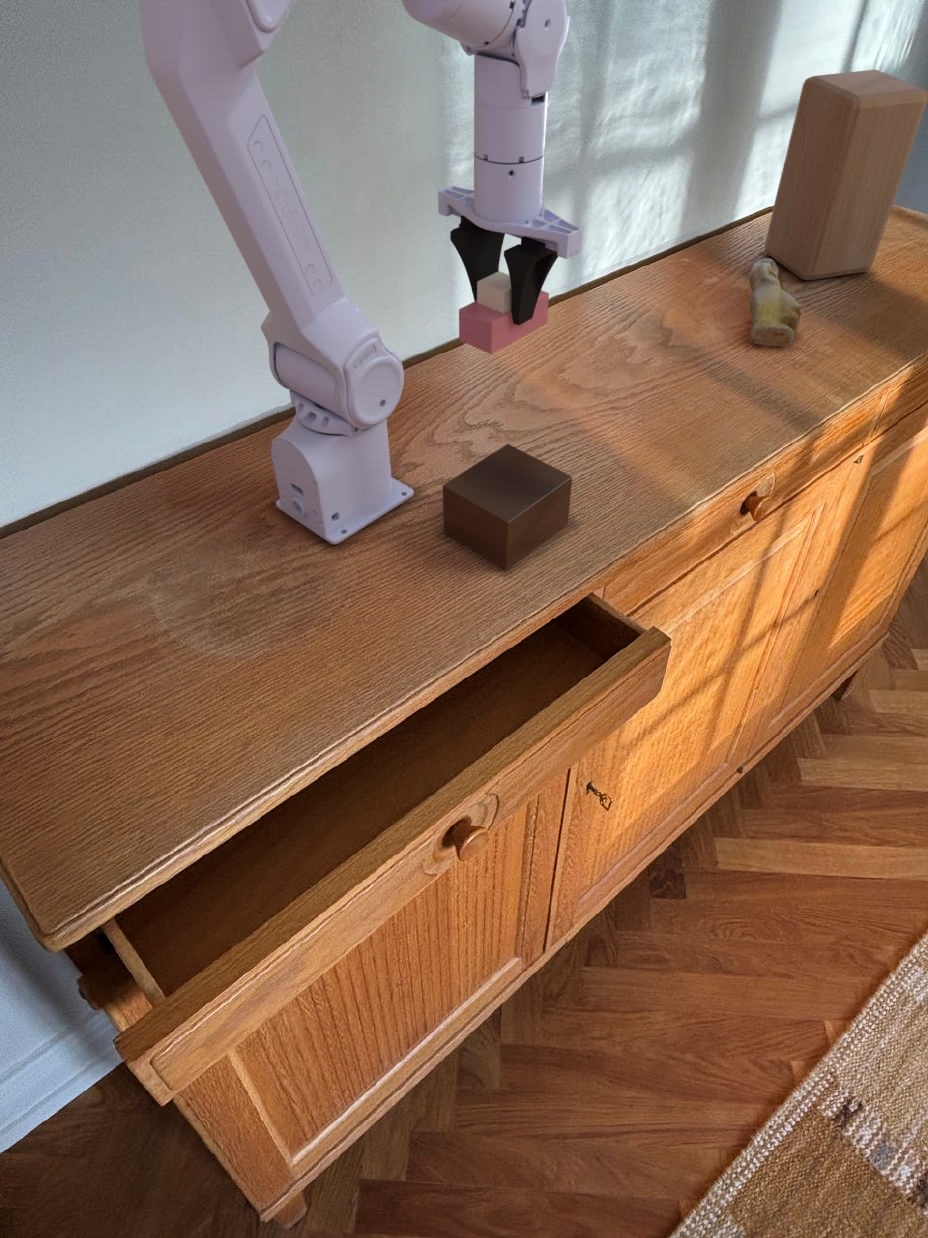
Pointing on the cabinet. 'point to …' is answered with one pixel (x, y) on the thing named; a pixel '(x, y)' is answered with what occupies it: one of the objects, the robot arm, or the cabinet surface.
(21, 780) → the cabinet surface
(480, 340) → the pink toy brick
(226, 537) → the cabinet surface
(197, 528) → the cabinet surface
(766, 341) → the figurine
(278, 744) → the cabinet surface
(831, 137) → the block
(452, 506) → the walnut block
